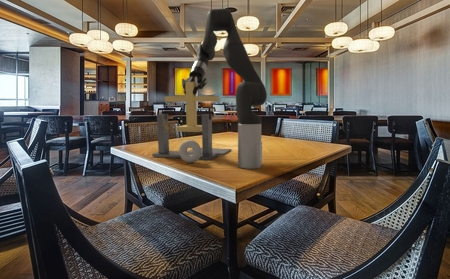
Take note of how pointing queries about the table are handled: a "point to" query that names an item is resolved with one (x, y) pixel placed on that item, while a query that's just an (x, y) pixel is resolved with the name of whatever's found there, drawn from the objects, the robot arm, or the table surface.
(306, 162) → the table surface
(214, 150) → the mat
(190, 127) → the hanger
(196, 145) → the donut
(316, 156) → the table surface
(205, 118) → the stand
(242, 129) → the robot arm
